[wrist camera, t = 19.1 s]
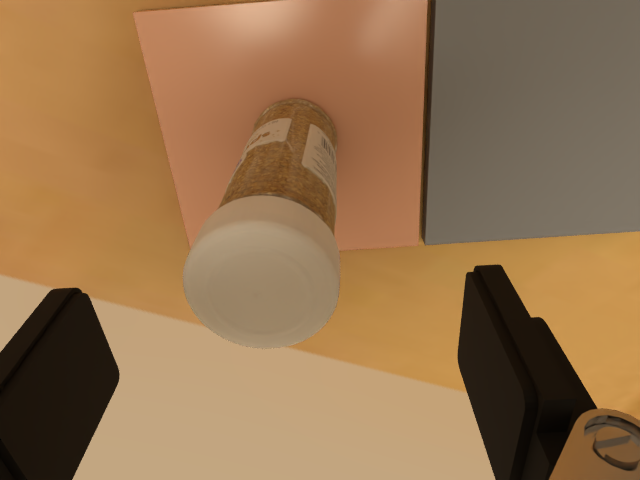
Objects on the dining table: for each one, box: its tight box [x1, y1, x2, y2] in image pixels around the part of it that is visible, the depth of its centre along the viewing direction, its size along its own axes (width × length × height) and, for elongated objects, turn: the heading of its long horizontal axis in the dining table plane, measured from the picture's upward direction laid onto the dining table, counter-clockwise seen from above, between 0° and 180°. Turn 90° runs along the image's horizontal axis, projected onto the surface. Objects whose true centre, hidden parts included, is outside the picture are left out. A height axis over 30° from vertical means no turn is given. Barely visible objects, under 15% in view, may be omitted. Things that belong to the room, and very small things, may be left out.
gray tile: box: [422, 0, 640, 245], centre depth 25 cm, size 14×14×1 cm
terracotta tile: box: [133, 0, 427, 251], centre depth 26 cm, size 14×14×1 cm
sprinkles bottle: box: [183, 99, 340, 349], centre depth 19 cm, size 5×5×14 cm
